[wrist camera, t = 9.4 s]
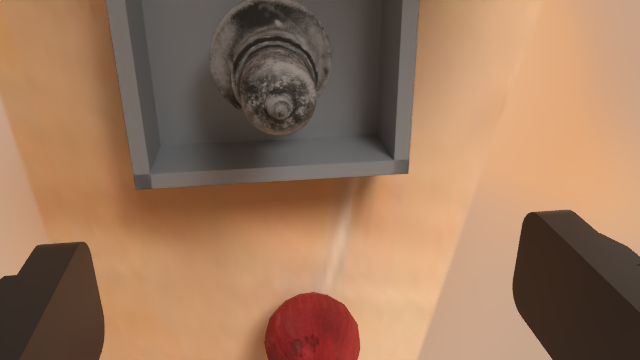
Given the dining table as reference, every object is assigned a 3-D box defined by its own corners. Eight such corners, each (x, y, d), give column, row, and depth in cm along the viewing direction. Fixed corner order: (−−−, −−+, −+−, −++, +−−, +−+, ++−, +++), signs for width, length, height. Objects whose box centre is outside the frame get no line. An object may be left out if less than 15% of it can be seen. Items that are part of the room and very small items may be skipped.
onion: (255, 334, 38) (259, 429, 31) (273, 263, 36) (281, 347, 28) (336, 343, 39) (358, 436, 32) (358, 275, 37) (386, 358, 30)
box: (116, -74, 27) (93, -75, 23) (398, -76, 28) (424, -77, 24) (149, 156, 32) (135, 189, 28) (387, 144, 33) (408, 173, 29)
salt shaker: (280, 119, 31) (298, 220, 20) (190, 57, 29) (157, 132, 18) (345, 35, 30) (401, 95, 19) (255, -37, 28) (261, -17, 17)
